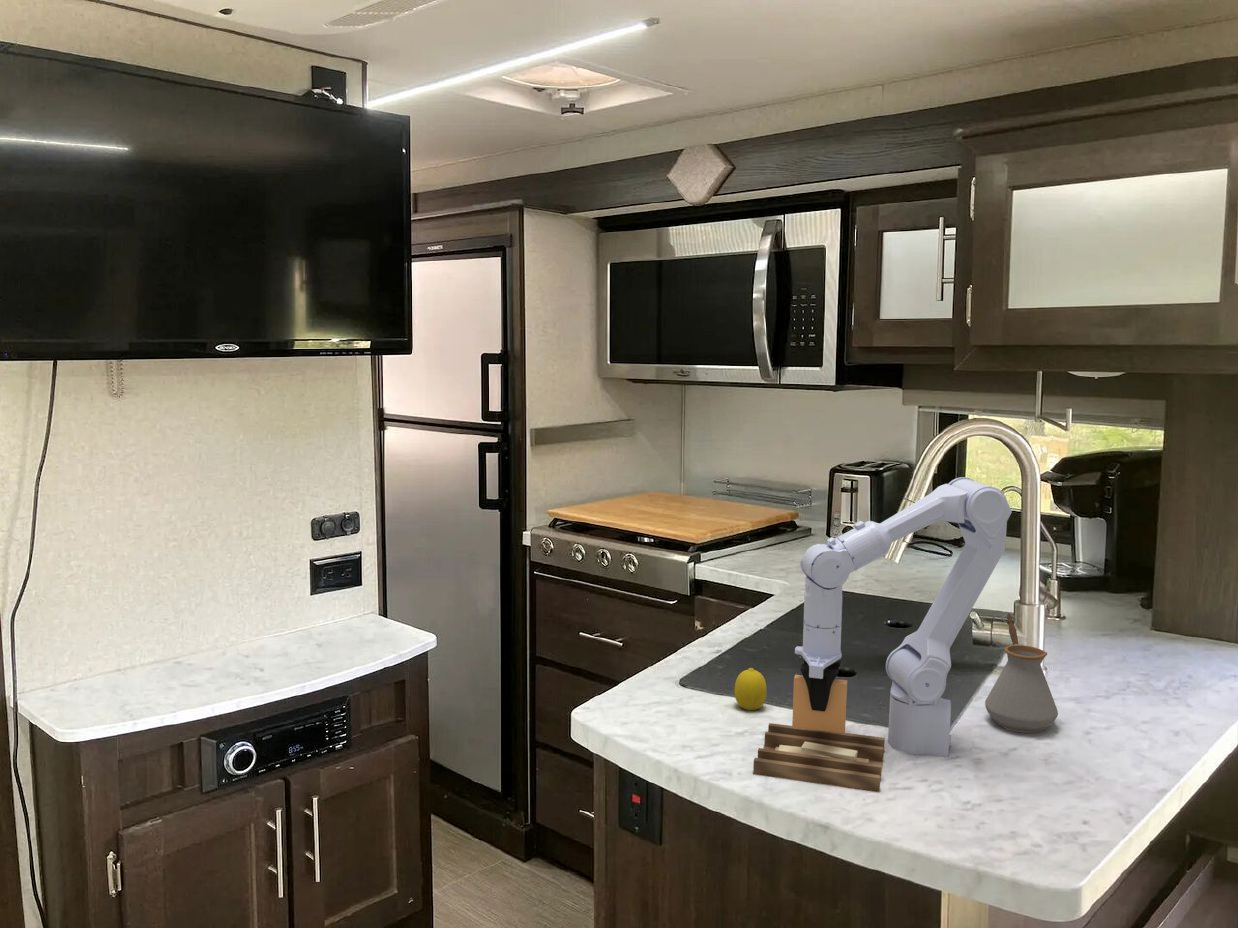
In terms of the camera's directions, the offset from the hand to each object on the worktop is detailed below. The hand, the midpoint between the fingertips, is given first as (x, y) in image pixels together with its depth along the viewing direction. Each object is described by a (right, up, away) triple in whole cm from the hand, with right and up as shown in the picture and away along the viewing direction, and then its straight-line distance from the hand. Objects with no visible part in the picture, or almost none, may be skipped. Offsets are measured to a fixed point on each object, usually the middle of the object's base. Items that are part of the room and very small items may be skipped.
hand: (819, 707), depth 154 cm
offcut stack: (-1, -7, -4) cm, 8 cm away
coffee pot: (+38, -6, +18) cm, 42 cm away
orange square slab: (0, -3, 0) cm, 3 cm away
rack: (0, -8, -4) cm, 9 cm away
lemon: (-9, -5, +17) cm, 20 cm away
